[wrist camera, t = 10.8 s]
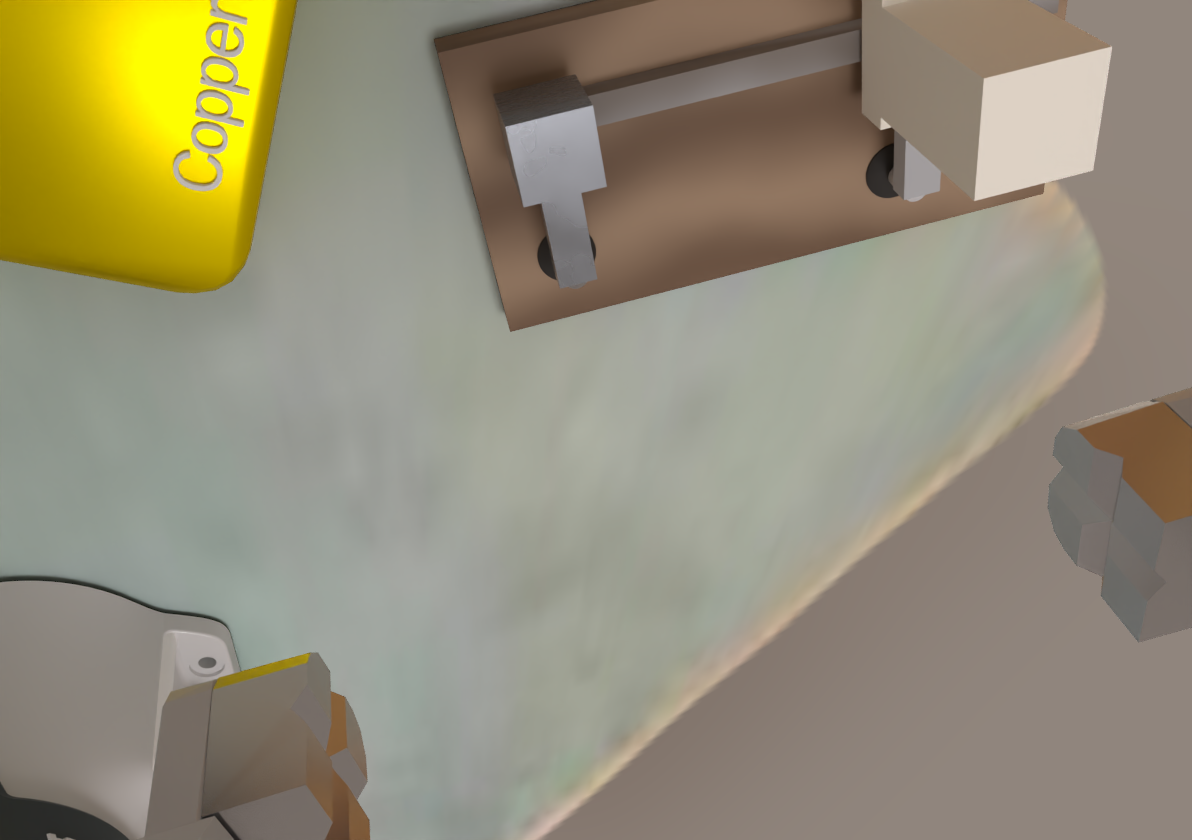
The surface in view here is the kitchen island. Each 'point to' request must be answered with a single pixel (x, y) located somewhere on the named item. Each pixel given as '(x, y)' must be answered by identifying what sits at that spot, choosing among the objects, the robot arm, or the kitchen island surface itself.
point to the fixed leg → (555, 166)
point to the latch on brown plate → (689, 143)
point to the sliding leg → (981, 93)
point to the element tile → (137, 135)
